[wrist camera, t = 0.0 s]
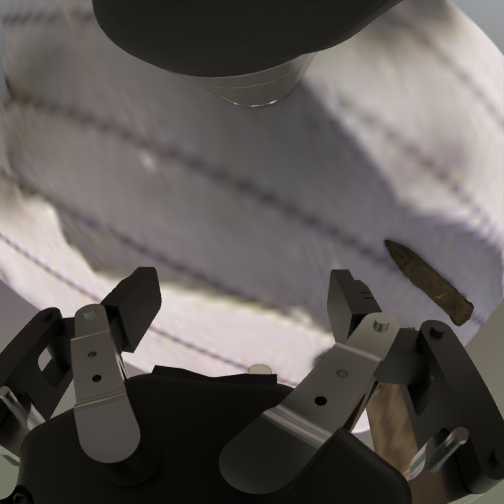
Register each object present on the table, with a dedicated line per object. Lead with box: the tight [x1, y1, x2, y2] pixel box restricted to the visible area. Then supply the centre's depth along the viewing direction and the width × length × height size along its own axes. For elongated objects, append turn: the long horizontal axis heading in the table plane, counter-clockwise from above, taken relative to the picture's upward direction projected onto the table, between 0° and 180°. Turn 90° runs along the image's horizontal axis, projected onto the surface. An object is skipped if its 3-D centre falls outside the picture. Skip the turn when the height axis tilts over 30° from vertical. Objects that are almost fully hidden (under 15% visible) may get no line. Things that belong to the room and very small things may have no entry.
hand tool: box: [385, 240, 474, 326], centre depth 29 cm, size 19×4×5 cm, turn 55°
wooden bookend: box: [366, 328, 418, 478], centre depth 28 cm, size 12×6×20 cm, turn 1°
